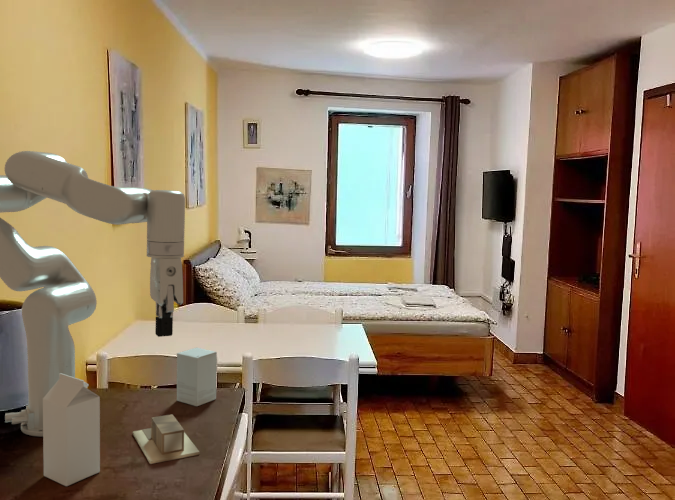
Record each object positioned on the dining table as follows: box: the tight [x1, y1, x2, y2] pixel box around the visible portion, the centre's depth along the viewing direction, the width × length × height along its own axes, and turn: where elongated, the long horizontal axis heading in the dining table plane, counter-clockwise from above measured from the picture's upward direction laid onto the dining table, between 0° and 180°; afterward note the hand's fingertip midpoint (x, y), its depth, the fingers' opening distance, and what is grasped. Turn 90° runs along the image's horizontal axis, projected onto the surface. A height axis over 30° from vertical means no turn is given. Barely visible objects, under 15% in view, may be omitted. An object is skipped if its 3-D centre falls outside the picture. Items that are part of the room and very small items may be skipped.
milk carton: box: [42, 373, 101, 487], centre depth 113 cm, size 7×7×19 cm
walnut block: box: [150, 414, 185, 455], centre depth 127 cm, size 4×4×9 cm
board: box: [132, 427, 201, 465], centre depth 129 cm, size 10×16×1 cm, turn 30°
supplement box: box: [176, 347, 218, 407], centre depth 155 cm, size 7×7×13 cm
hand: (163, 335), depth 128 cm, fingers closed
